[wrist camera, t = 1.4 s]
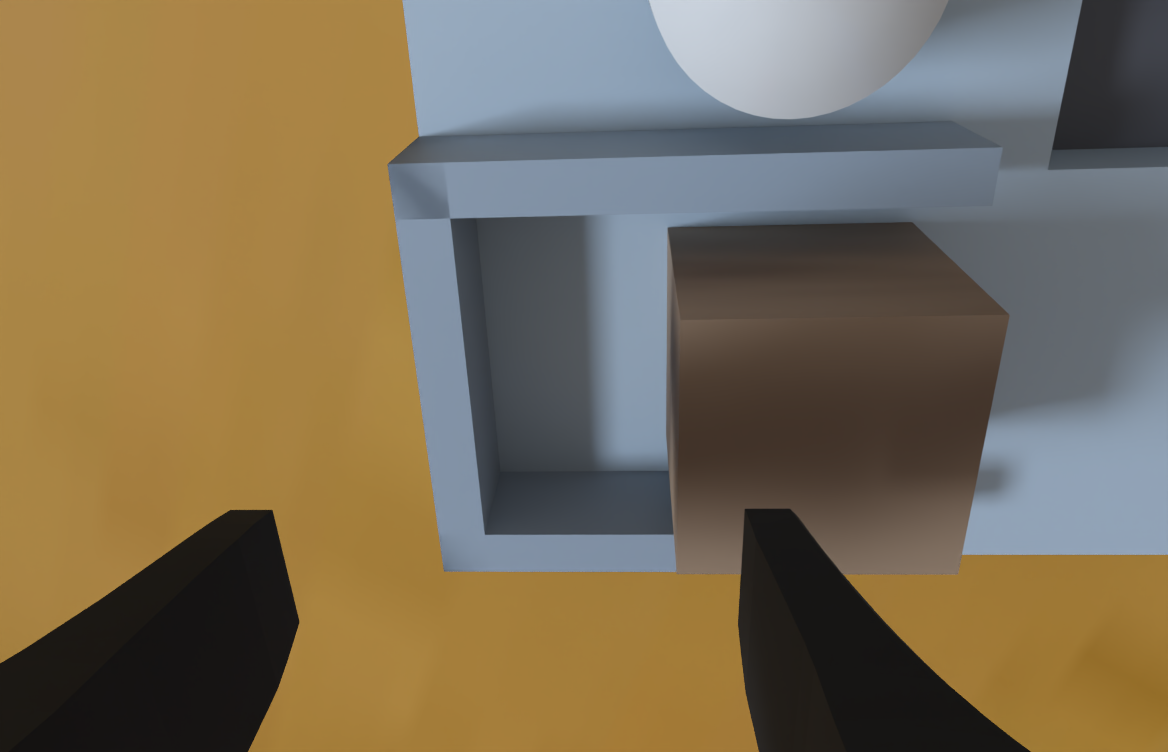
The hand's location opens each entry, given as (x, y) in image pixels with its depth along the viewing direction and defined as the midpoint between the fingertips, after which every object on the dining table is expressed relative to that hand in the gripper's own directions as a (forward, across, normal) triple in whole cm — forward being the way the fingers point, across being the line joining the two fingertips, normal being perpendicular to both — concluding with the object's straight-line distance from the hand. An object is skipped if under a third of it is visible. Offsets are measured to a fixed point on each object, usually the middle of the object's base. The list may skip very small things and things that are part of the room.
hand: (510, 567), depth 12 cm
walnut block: (+8, -5, 0) cm, 9 cm away
